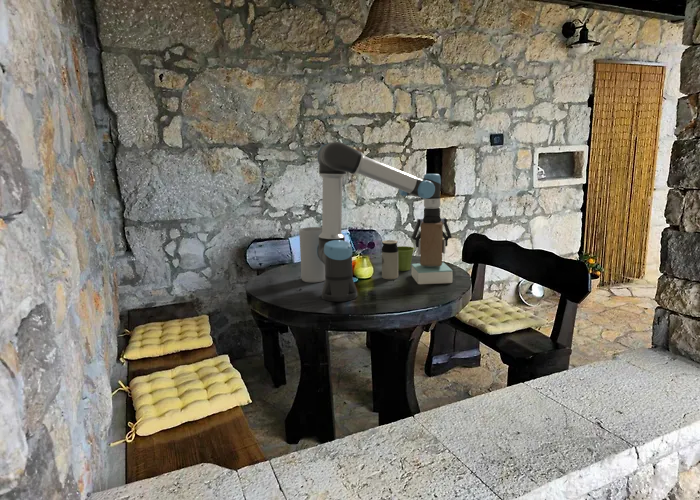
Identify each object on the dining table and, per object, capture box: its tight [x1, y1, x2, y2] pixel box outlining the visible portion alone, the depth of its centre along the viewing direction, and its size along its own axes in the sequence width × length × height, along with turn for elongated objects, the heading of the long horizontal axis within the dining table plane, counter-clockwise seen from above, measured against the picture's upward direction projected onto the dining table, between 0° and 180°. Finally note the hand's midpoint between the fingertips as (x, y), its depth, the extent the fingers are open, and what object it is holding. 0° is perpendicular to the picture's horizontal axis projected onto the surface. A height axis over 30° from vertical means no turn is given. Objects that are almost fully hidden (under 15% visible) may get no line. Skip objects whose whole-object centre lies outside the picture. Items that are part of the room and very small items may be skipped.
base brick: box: [411, 262, 454, 285], centre depth 224 cm, size 16×16×6 cm
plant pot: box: [397, 245, 415, 272], centre depth 244 cm, size 12×12×11 cm
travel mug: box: [381, 239, 399, 280], centre depth 228 cm, size 8×8×18 cm
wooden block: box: [419, 221, 444, 266], centre depth 221 cm, size 10×10×20 cm
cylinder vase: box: [298, 226, 325, 284], centre depth 227 cm, size 12×12×25 cm
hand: (431, 253), depth 222 cm, fingers closed on wooden block, 11 cm apart
